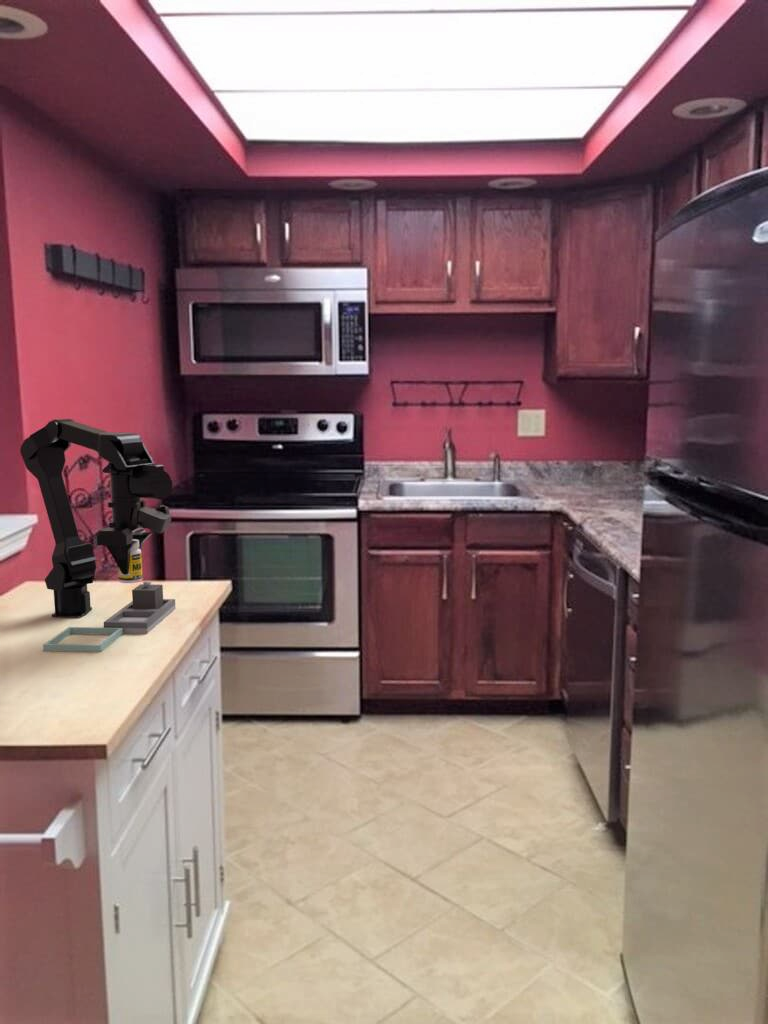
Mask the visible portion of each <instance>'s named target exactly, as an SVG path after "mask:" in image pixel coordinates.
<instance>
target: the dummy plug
mask: <svg viewBox="0 0 768 1024" xmlns="http://www.w3.org/2000/svg"><path fill="white" fill-rule="evenodd" d="M142 582H143V584H139V585H137V586H136V587H134V588H133V589H132V590H131V593H132V597H131V598H132V601H133V609H159V608H161V607H162V606H163V605H164V604H163V599H164V590H163V589H164V587H163V586H164V585H163V584H152V581H151V580H145V581H142Z"/></svg>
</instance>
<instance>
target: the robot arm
mask: <svg viewBox="0 0 768 1024" xmlns="http://www.w3.org/2000/svg"><path fill="white" fill-rule="evenodd" d="M72 444H74V445H78V446H81V447H82V448H83V447H84V448H87V449H89V450H93V451H95V452H96V453H97V454H98V456H99V458H101V459H103V460H104V461H106V462H107V463H108V464H107V465H106V466H105V467H104V468H103V469H101V470H102V471H101V472H102V473H103V474H109V479H110V496H111V497H110V498H111V501H109V502H107V507H108V508H111V512H112V521H110V522H109V523H108V525H109V527H105V528H103V529H100V530H98V532H97V533H96V534H95V535H94V536H95V537H94V538H95V546H104V547H106V549H107V550H108V552H109V553H110V555H111V557H112V558H113V560H114V562H115V564H116V565H117V568H118V567H119V569H120V571H121V572H122V574H128V572H129V562H130V550H131V548H132V547H133V546H134V545H135V544H136V543H137V541H132V539H137V540H139V545H140V546H139V548H138V549H140V550H141V551H142V550H143V547H144V542H145V541H146V540H147V539H148V538H149V537H151V536H152V535H153V533H155V534H160V535H161V534H162V533H163V532H167V530H168V526H169V523H171V522H172V514H171V513H170V509H169V506H166V505H163V504H161V505H160V506H158V507H157V508H156V509H155V508H154V507H152V508H151V507H147V501H146V500H145V499H150V500H151V499H153V500H160V501H161V500H162V501H163V500H165V499H167V498H168V497H169V496H170V494H171V492H172V490H173V480H172V479H171V476H170V474H169V473H168V472H166V471H164V470H165V465H163V464H156V463H155V461H154V459H153V457H152V456H151V454H150V453H149V451H148V449H147V447H146V445H145V444H144V442H143V441H142V437H141V436H140V435H139V434H138V433H136V432H135V433H134V432H123V431H122V432H116V431H115V432H112V431H106V430H103V429H100V428H96V427H93V426H90V425H87V424H83V423H81V422H78V421H75V420H73V419H71V418H60V419H59V418H58V419H52V420H50V421H48V423H46V425H45V426H44V427H42V428H40V429H39V430H37V431H35V432H33V433H32V434H30V436H28V437H26V438H25V439H24V441H22V444H21V445H20V448H19V449H20V450H19V451H20V455H21V457H22V461H23V463H24V465H25V467H26V470H27V471H29V472H30V474H32V476H33V477H35V478H36V479H37V481H38V486H39V488H40V493H41V495H42V499H43V504H44V507H45V510H46V514H47V518H48V521H49V525H50V528H51V532H52V536H53V539H54V543H55V546H54V548H53V552H52V555H51V562H52V569H51V570H50V572H49V573H48V575H46V577H45V578H44V583H45V586H46V589H48V590H51V591H53V600H54V612H53V613H52V614H51V617H52V618H82V617H83V616H84V615H85V614H87V613H89V612H91V610H93V608H92V606H91V605H92V604H91V592H90V591H88V585H89V584H93V583H94V580H95V579H94V577H95V573H96V570H97V563H96V561H98V559H97V558H96V555H95V553H94V547H93V545H92V543H91V542H88V543H85V542H84V541H83V540H82V539H81V538H80V537H81V536H80V535H79V531H78V528H77V524H76V521H75V517H74V514H73V513H74V512H73V510H72V506H71V503H70V499H69V496H68V492H67V489H66V488H67V487H66V485H65V482H64V477H63V471H64V468H65V464H66V453H65V452H67V450H68V449H69V448H70V447H71V446H72ZM143 498H144V499H143ZM146 529H148V530H150V531H152V532H147V531H146Z"/></svg>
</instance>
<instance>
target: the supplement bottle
mask: <svg viewBox="0 0 768 1024" xmlns="http://www.w3.org/2000/svg"><path fill="white" fill-rule="evenodd" d="M132 541H137V543H136V544H135V545H134V546H133V547H132V548H131V550H130V562H129V572H128V574H122V572H121V571H120V569H119V567H118V566H117V569H118V571H117V572H118V582H120V583H122V584H135V583H140V582H142V580H143V579H144V578H143V561H142V560H143V558H142V557H143V556H142V550H140V549H138V548H139V546H140V545H139V540H137V539H132Z"/></svg>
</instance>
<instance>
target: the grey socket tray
mask: <svg viewBox="0 0 768 1024" xmlns="http://www.w3.org/2000/svg"><path fill="white" fill-rule="evenodd" d="M163 604H164V605H163V606H162V607H161V608H159V609H133V600H131V602H129V603H127V604H126V605H125V606H124V607H122V608H121V609H119V610H118V611H117V612H116V613H114V614H112V616H109V618H107V619H106V620H104V621H103V628H123V634H149V633H150V632H151V631H152V630H153V629H155V627H156V625H159V624H160V623H161V622H162V621H163V620H165V619H166V618H167V617H169V615H170V614H171V613H173V610H174V611H175V610H176V609H177V608H176V599H175V598H163ZM166 616H167V617H166ZM165 617H166V618H165ZM150 630H151V631H150ZM149 631H150V632H149ZM148 632H149V633H148Z"/></svg>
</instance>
